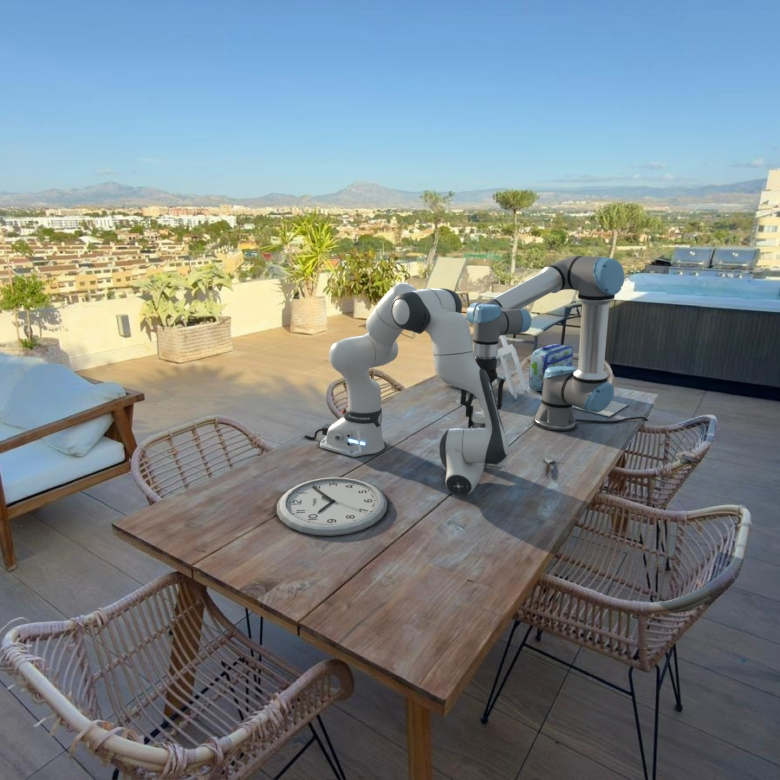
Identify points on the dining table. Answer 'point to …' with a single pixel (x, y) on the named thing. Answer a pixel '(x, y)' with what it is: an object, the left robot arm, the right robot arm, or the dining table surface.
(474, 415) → the lid
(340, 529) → the wall clock
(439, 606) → the dining table surface
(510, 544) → the dining table surface
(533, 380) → the lunch box
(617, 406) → the invitation card
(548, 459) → the fork
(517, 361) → the white plastic object
